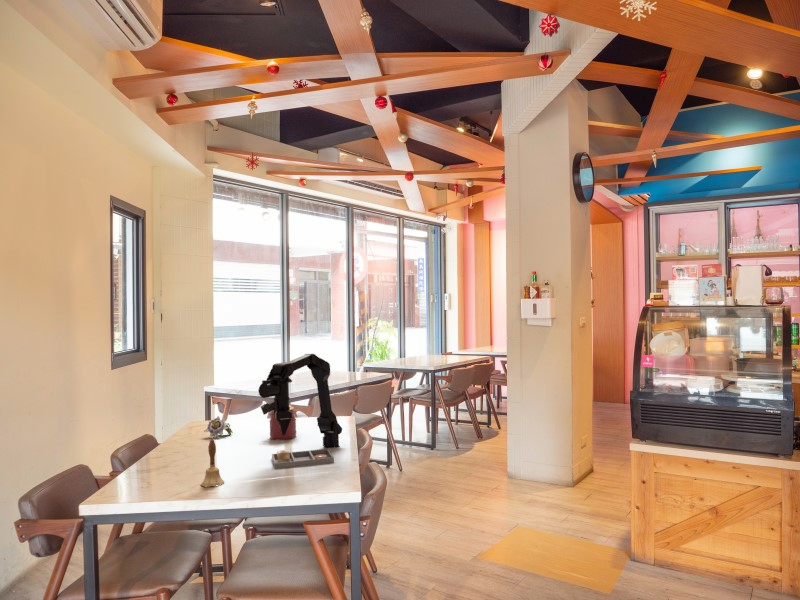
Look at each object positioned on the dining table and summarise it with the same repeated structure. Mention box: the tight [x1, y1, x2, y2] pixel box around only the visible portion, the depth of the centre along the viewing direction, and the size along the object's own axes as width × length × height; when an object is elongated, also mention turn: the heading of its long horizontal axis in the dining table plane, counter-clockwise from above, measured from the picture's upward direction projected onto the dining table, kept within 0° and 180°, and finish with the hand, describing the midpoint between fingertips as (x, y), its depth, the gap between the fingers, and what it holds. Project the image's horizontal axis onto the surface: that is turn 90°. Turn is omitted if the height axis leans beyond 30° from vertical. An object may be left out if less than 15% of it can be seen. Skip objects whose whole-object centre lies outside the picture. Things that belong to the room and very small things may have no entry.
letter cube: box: [276, 449, 290, 463], centre depth 236 cm, size 4×4×5 cm
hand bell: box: [200, 439, 225, 487], centre depth 211 cm, size 8×8×16 cm
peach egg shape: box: [315, 454, 327, 459], centre depth 240 cm, size 5×5×1 cm
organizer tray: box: [271, 448, 335, 470], centre depth 238 cm, size 23×16×2 cm
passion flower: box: [203, 415, 233, 439], centre depth 296 cm, size 11×11×12 cm
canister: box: [268, 404, 297, 440], centre depth 288 cm, size 13×13×18 cm
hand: (282, 432), depth 236 cm, fingers open, 9 cm apart
